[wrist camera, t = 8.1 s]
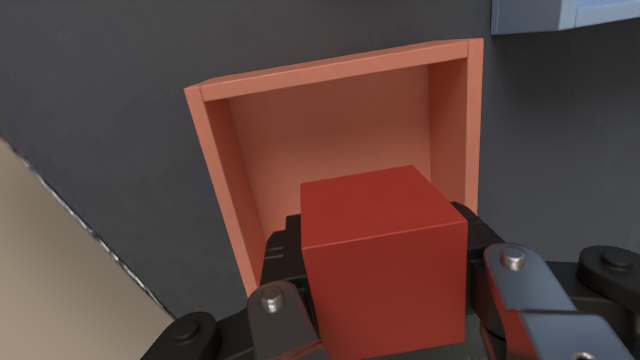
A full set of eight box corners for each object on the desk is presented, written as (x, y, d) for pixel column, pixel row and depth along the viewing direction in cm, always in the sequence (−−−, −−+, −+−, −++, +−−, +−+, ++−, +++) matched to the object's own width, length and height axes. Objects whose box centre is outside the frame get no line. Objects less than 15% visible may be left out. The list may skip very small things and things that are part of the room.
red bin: (262, 261, 20) (253, 317, 16) (212, 77, 16) (182, 88, 12) (437, 231, 20) (474, 279, 16) (434, 40, 16) (484, 37, 12)
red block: (317, 274, 13) (326, 366, 9) (299, 182, 11) (300, 248, 8) (417, 257, 13) (465, 342, 9) (412, 163, 11) (468, 220, 8)
